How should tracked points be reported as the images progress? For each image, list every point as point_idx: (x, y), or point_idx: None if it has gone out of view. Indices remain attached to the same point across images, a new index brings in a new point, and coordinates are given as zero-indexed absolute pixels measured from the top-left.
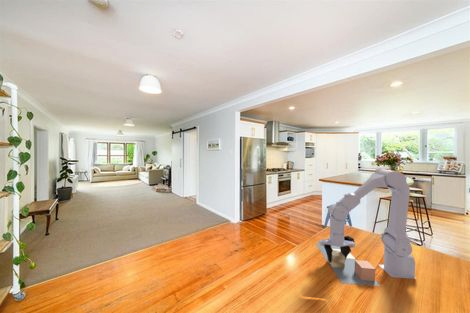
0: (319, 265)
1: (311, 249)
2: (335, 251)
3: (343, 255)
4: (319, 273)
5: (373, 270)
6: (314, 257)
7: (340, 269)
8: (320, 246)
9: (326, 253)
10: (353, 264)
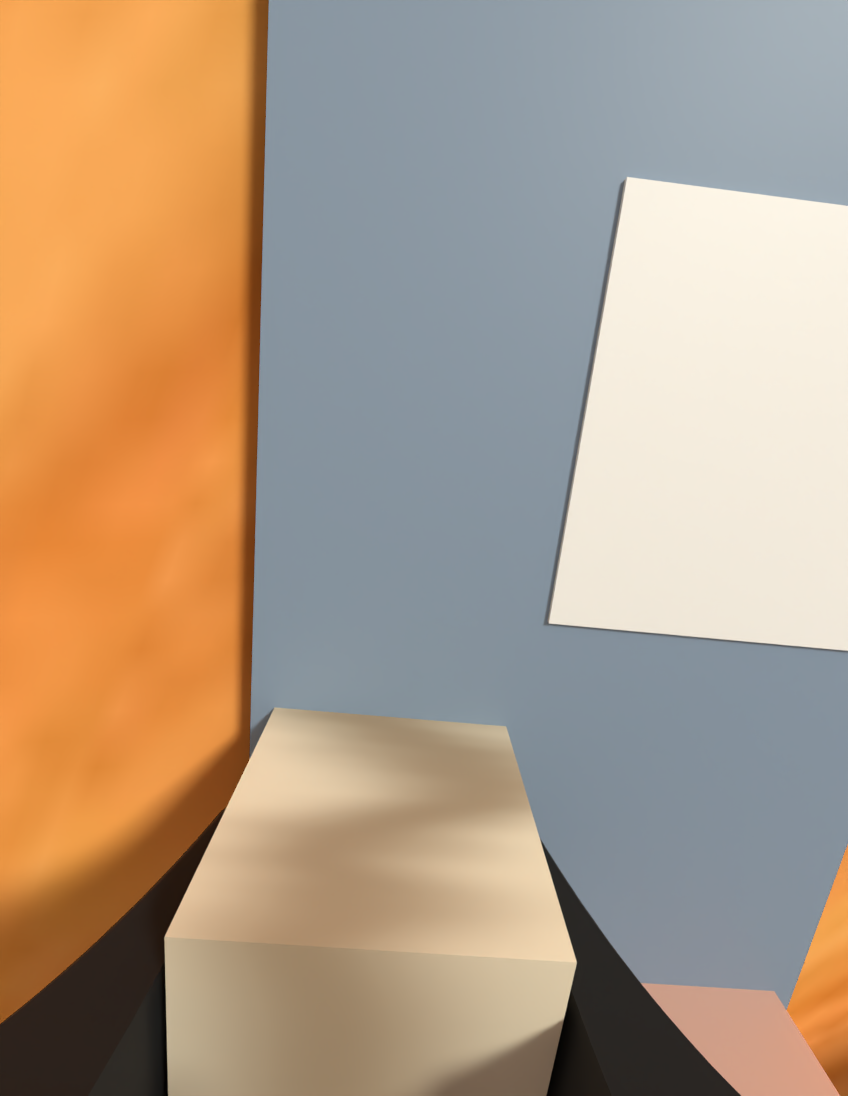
0: (67, 803)
1: (55, 170)
2: (387, 1021)
3: None
4: (4, 975)
5: None
6: (39, 557)
7: None
8: (369, 20)
9: (371, 443)
10: (719, 820)
